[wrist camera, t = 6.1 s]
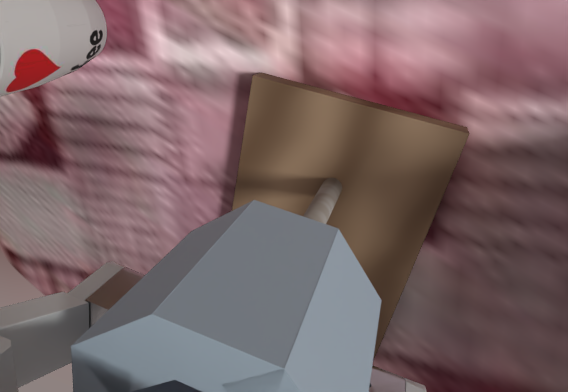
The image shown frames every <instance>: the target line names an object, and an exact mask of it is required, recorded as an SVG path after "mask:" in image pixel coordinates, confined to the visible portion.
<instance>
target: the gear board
mask: <svg viewBox="0 0 568 392" xmlns="http://www.w3.org/2000/svg"><path fill="white" fill-rule="evenodd" d="M468 136H469V131H468V129H467V127H464V126H460V125H456V124H452V123H449V122H445V121H441V120H437V119H433V118H430V117H426V116H422V115H418V114H415V113H411V112H407V111H403V110H400V109H396V108H392V107H388V106H385V105H381V104H377V103H373V102H370V101H366V100H362V99H358V98H355V97H351V96H347V95H343V94H340V93H336V92H332V91H328V90H325V89H321V88H317V87H313V86H310V85H306V84H302V83H298V82H295V81H291V80H287V79H283V78H279V77H276V76H272V75H268V74H264V73H258V74H255V75H253V77H252V83H251V90H250V96H249V103H248V109H247V116H246V122H245V129H244V135H243V142H242V148H241V155H240V161H239V168H238V174H237V181H236V187H235V194H234V200H233V207H232V211H233V210H235V209H237V208H239V207H241V206H243V205H245V204H247V203H249V202H251V201H253V200H256V201H259V202H262V203H265V204H268V205H271V206H274V207H277V208H280V209H283V210H286V211H289V212H291V213H294V214H297V215H300V216H303V217H306V218H309V219H312V220H315V221H318V222H321V223H324V224H327V225H330V226H332V227H335V228H339V230H340V232H341V233H342V235H343V237H344V238H345V240H346V242H347V244H348V245H349V247H350V249H351V250H352V252H353V254H354V255H355V257H356V259H357V260H358V262H359V264H360V265H361V267H362V269H363V270H364V272H365V274H366V275H367V277H368V279H369V280H370V282H371V284H372V285H373V287H374V289H375V290H376V292H377V294H378V295H379V297H380V299H381V300H382V301H381V308H380V315H379V322H378V329H377V337H376V344H375V351H374V358H375V355H376V353H377V351H378V348H379V346H380V344H381V341H382V339H383V336H384V334H385V332H386V329H387V327H388V325H389V322H390V320H391V318H392V315H393V313H394V310H395V308H396V306H397V303H398V301H399V299H400V296H401V294H402V292H403V289H404V287H405V284H406V282H407V280H408V277H409V275H410V273H411V270H412V268H413V266H414V263H415V261H416V259H417V256H418V254H419V251H420V249H421V247H422V244H423V242H424V240H425V237H426V235H427V233H428V230H429V228H430V225H431V223H432V221H433V218H434V216H435V214H436V211H437V209H438V207H439V204H440V202H441V199H442V197H443V195H444V192H445V190H446V188H447V185H448V183H449V181H450V178H451V176H452V173H453V171H454V169H455V166H456V164H457V162H458V159H459V157H460V155H461V152H462V150H463V147H464V145H465V143H466V140H467V138H468ZM374 358H373V360H374Z"/></svg>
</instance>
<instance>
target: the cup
mask: <svg viewBox="0 0 568 392" xmlns="http://www.w3.org/2000/svg"><path fill="white" fill-rule="evenodd" d="M106 38H107V27H106V21H105V18H104V15H103V12H102V10H101V8H100V6H99V5H98V3H97V2H96V1H95V0H0V96H4V95H8V94H12V93H15V92H19V91H23V90H27V89H30V88H34V87H38V86H40V85H43V84H45V83H47V82H50V81H52V80H54V79H57V78H59V77H62V76H64V75H66V74H69V73H71V72H74V71H76V70H77V69H79V68H80V67H82V66H83V65H85V64H86V63H87V62H89V61H90V60H92V59H93V58H94V57H96V56H97V55H98V54H100V52H101V51H102V50H103V48H104V46H105V43H106Z"/></svg>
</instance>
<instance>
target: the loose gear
mask: <svg viewBox="0 0 568 392" xmlns="http://www.w3.org/2000/svg"><path fill="white" fill-rule="evenodd" d="M381 301H382V300H381V299H380V297H379V295H378V294H377V292H376V290H375V289H374V287H373V285H372V284H371V282H370V280H369V279H368V277H367V275H366V274H365V272H364V270H363V269H362V267H361V265H360V264H359V262H358V260H357V259H356V257H355V255H354V254H353V252H352V250H351V249H350V247H349V245H348V244H347V242H346V240H345V238H344V237H343V235H342V233H341V232H340V230H339V228H335V227H332V226H330V225H327V224H324V223H321V222H318V221H315V220H312V219H309V218H306V217H303V216H300V215H297V214H294V213H291V212H289V211H286V210H283V209H280V208H277V207H274V206H271V205H268V204H265V203H262V202H259V201H256V200H253V201H251V202H249V203H247V204H245V205H243V206H241V207H239V208H237V209H235V210H233V211H231V212H229V213H227V214H225V215H223V216H221V217H219V218H217V219H215V220H213V221H211V222H209V223H207V224H205V225H203V226H201V227H199V228H197V229H195V230H193V231H191V232H190V233H189V234H188V235H187V236H186V237H185V238H184V239H183V240H182V241H181V242H180V243H179V244H178V245H177V246H176V247H174V248H173V249H172V250H171V251H170V252H169V253H168V254H167V255H166V256H165V257H164V258H163V259H162V260H161V261H160V262H159V263H158V264H157V265H156V266H154V267H153V268H152V269H151V270H150V271H149V272H148V273H147V274H146V275H145V276H144V277H143V278H142V279H141V280H140V281H139V282H138V283H137V284H136V285H135V286H133V287H132V288H131V289H130V290H129V291H128V292H127V293H126V294H125V295H124V296H123V297H122V298H121V299H120V300H119V301H118V302H117V303H116V304H115V305H113V306H112V307H111V308H110V309H109V310H108V311H107V312H106V313H105V314H104V315H103V316H102V317H101V318H100V319H99V320H98V321H97V322H96V323H95V324H94V325H92V326H91V327H90V328H89V329H88V330H87V331H86V332H85V333H84V334H83V335H82V336H81V337H80V338H79V339H78V340H77V341H76V342H75V343H74V344H72V345H71V354H72V373H73V392H369V386H370V379H371V372H372V365H373V358H374V351H375V344H376V337H377V329H378V322H379V315H380V308H381Z"/></svg>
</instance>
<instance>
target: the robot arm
mask: <svg viewBox="0 0 568 392" xmlns="http://www.w3.org/2000/svg"><path fill="white" fill-rule="evenodd" d="M144 276H145V275H143V274H141V273H139V272H136V271H134V270H132V269H129V268H127V267H124V266H121V265H119V264H117V263H114V262H112V261H111V262H108V263H105V264H104V265H103V266H102V267H100V268H99V269H98V270H96V271H95V272H94V273H93V274H91V275H90V276H89V277H88V278H86V279H85V280H84V281H82V282H81V283H80V284H79V285H77V286H76V287H75V288H74V289H72V290H71V291H70V292H68V293H65V292H60V293H56V294H52V295H48V296H44V297H41V298H36V299H32V300H28V301H25V302H21V303H17V304H13V305H9V306H5V307H1V308H0V392H18V388H19V387H21V386H23V385H25V384H27V383H29V382H31V381H33V380H36V379H38V378H40V377H42V376H44V375H46V374H48V373H50V372H52V371H55V370H57V369H59V368H61V367H63V366H65V365H67V364H69V363H72V354H71V345H72V344H74V343H75V342H76V341H77V340H78V339H79V338H80V337H81V336H82V335H83V334H84V333H85V332H86V331H87V330H88V329H89V328H90V327H91V326H92V325H94V324H95V323H96V322H97V321H98V320H99V319H100V318H101V317H102V316H103V315H104V314H105V313H106V312H107V311H108V310H109V309H110V308H111V307H112V306H113V305H115V304H116V303H117V302H118V301H119V300H120V299H121V298H122V297H123V296H124V295H125V294H126V293H127V292H128V291H129V290H130V289H131V288H132V287H133V286H135V285H136V284H137V283H138V282H139V281H140V280H141V279H142V278H143V277H144ZM369 392H426V388H425V386H424V385H422V384H419V383H417V382H414V381H411V380H409V379H406V378H403V377H401V376H398V375H396V374H393V373H391V372H388V371H385V370H383V369H380V368H378V367H375V366H372V372H371V379H370V386H369Z"/></svg>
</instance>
